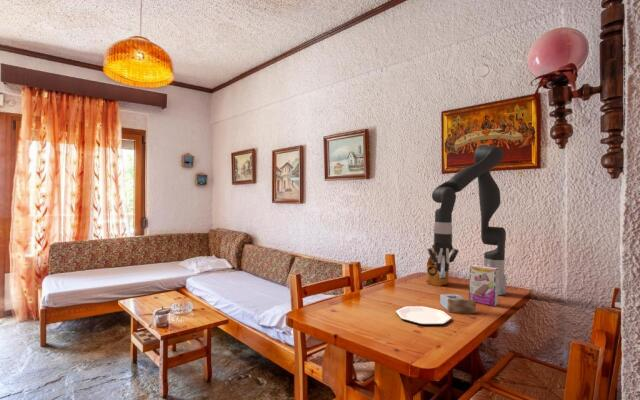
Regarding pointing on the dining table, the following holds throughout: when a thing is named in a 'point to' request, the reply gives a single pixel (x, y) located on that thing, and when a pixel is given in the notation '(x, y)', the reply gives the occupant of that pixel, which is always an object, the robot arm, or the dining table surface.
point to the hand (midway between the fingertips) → (442, 271)
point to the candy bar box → (484, 285)
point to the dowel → (442, 267)
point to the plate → (423, 315)
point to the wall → (462, 305)
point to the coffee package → (435, 273)
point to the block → (445, 298)
